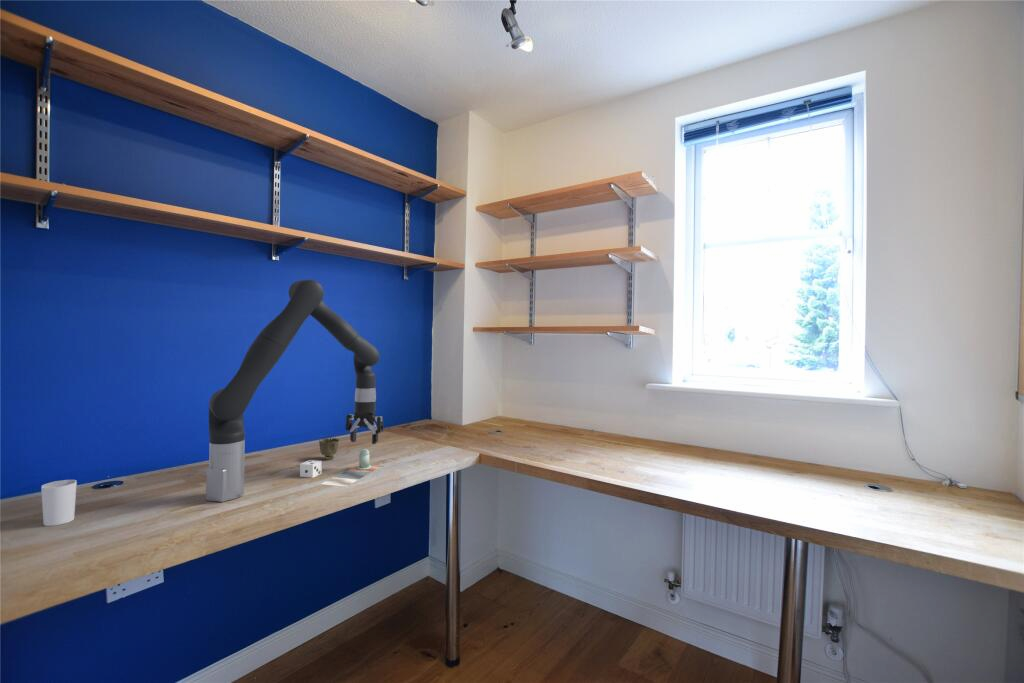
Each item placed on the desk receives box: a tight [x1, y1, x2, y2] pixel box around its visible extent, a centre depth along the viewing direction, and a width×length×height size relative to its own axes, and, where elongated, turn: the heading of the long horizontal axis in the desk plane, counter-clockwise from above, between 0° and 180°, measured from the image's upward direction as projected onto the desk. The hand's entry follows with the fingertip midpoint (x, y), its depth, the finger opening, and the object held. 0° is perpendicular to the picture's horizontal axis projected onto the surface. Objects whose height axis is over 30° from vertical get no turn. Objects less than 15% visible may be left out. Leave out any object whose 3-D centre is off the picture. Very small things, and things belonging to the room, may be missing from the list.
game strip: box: [321, 463, 385, 488], centre depth 161 cm, size 25×11×1 cm, turn 168°
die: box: [299, 459, 323, 479], centre depth 159 cm, size 5×5×5 cm
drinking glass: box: [40, 479, 78, 527], centre depth 118 cm, size 7×7×10 cm
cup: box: [318, 437, 340, 461], centre depth 181 cm, size 8×7×8 cm
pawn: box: [357, 448, 371, 470], centre depth 168 cm, size 5×5×7 cm
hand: (364, 442), depth 168 cm, fingers open, 8 cm apart
